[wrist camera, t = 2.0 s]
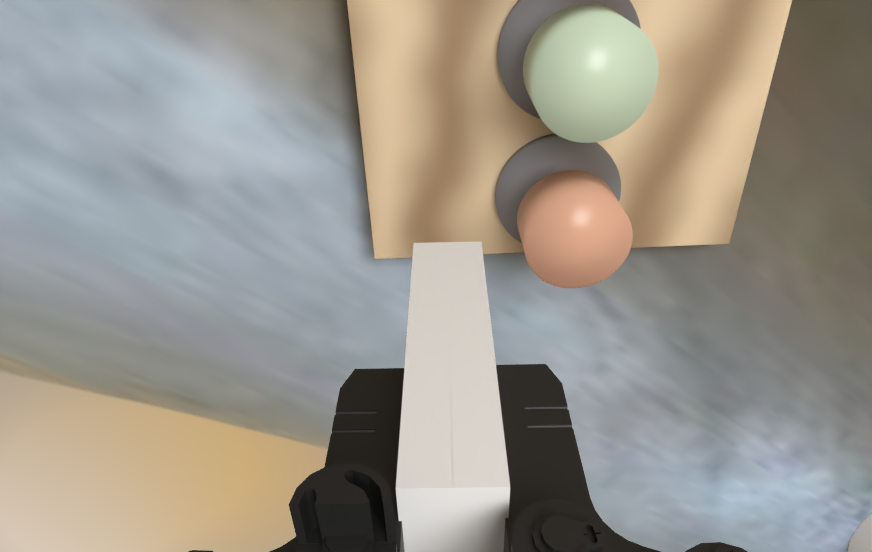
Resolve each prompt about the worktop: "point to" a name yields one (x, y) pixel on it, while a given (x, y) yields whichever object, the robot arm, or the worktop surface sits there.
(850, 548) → the cylinder
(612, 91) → the sage button
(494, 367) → the robot arm
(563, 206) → the terracotta button
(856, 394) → the worktop surface
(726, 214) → the button board
